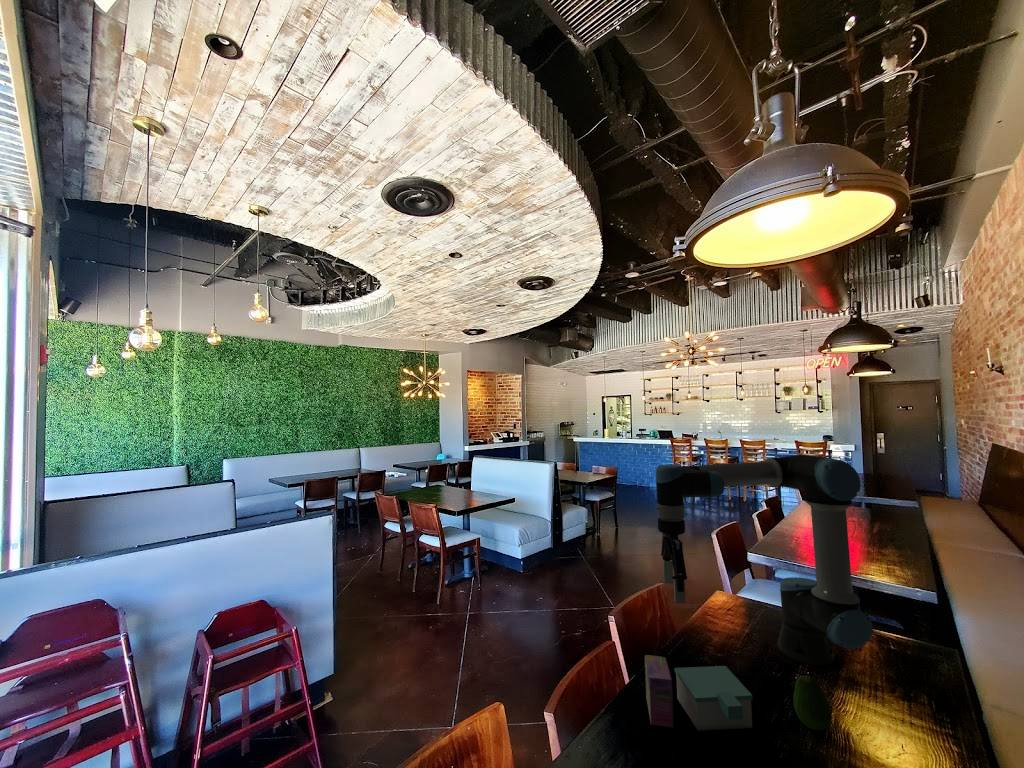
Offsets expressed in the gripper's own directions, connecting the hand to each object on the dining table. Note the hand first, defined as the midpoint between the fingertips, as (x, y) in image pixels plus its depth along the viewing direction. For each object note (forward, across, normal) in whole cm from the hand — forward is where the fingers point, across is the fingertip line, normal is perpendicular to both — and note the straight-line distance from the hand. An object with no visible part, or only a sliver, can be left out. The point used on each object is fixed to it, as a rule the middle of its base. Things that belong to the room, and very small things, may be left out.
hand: (674, 592), depth 123 cm
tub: (+27, +9, +7) cm, 29 cm away
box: (+27, +10, -7) cm, 30 cm away
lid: (+21, +11, +7) cm, 25 cm away
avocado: (+27, +12, +30) cm, 42 cm away
